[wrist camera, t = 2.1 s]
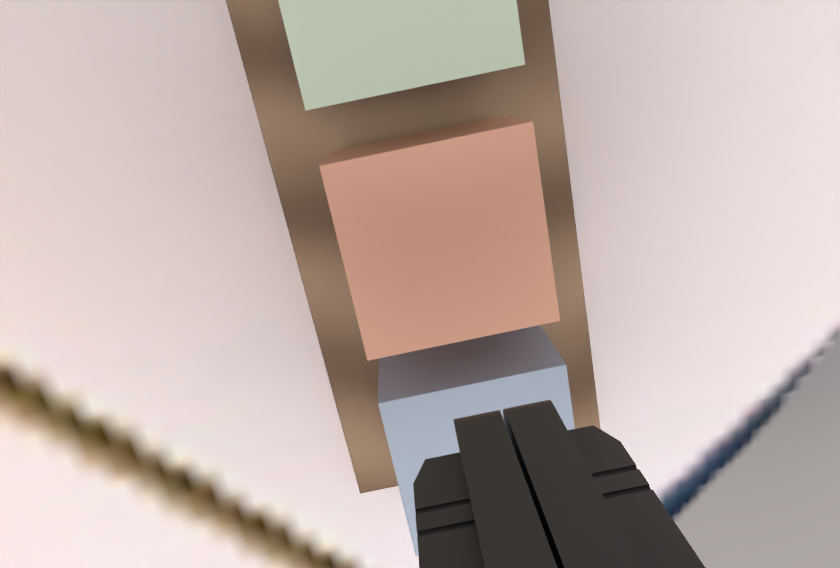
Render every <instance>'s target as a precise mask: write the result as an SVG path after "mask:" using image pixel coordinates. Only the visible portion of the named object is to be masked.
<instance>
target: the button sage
mask: <svg viewBox="0 0 840 568" xmlns="http://www.w3.org/2000/svg"><path fill="white" fill-rule="evenodd" d="M278 2H279V6H280V10H281V14H282V18H283V22H284V26H285V30H286V34H287V38H288V42H289V46H290V50H291V54H292V58H293V62H294V66H295V70H296V74H297V79H298V83H299V87H300V91H301V95H302V99H303V103H304V107H305V111H306V110H311V109H316V108H321V107H325V106H330V105H335V104H340V103H344V102H349V101H354V100H359V99H364V98H368V97H373V96H378V95H383V94H387V93H392V92H397V91H402V90H407V89H411V88H416V87H421V86H426V85H430V84H435V83H440V82H445V81H450V80H454V79H459V78H464V77H469V76H473V75H478V74H483V73H488V72H493V71H497V70H502V69H507V68H512V67H516V66H521V65H525V59H524V52H523V45H522V37H521V30H520V23H519V15H518V8H517V1H516V0H278Z"/></svg>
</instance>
